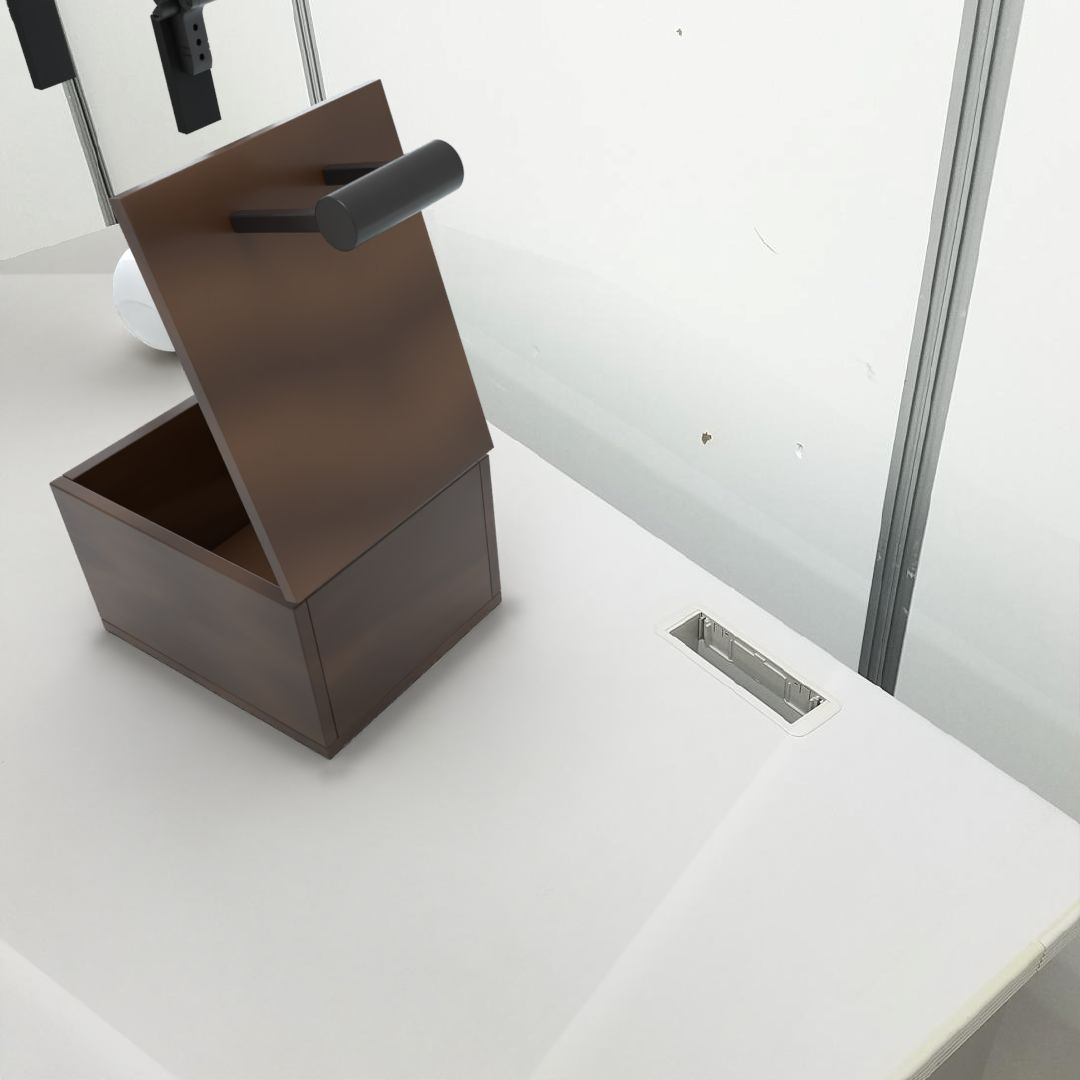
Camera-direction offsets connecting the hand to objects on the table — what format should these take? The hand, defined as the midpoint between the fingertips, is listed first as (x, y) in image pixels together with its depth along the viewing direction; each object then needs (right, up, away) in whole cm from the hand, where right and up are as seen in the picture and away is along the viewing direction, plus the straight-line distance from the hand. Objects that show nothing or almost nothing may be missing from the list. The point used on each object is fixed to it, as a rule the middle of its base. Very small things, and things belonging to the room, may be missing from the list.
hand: (125, 104), depth 77 cm
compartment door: (+17, -19, -24) cm, 36 cm away
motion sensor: (0, -13, +13) cm, 18 cm away
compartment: (+13, -31, -9) cm, 35 cm away
